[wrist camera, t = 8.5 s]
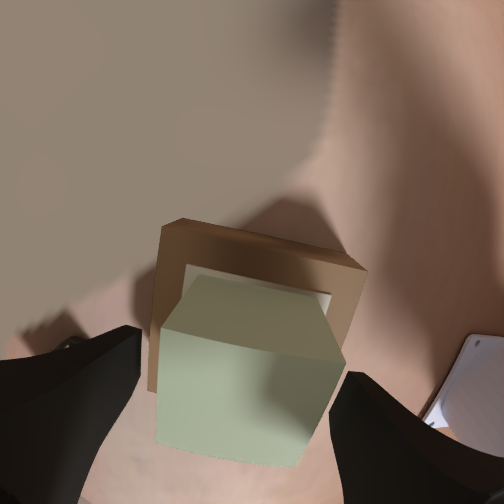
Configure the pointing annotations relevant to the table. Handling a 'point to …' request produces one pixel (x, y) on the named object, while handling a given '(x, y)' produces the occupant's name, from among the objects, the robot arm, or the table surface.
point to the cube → (244, 372)
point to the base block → (249, 273)
